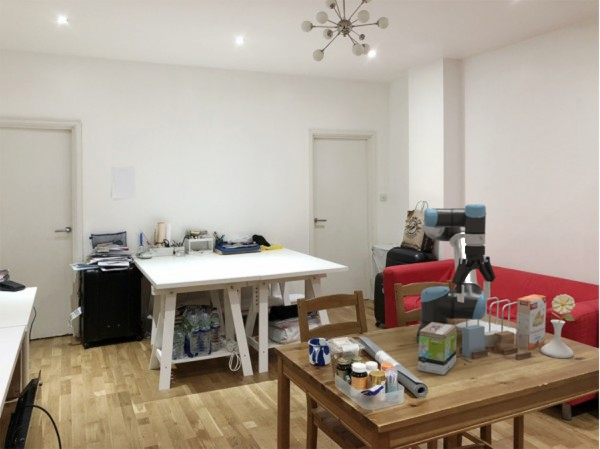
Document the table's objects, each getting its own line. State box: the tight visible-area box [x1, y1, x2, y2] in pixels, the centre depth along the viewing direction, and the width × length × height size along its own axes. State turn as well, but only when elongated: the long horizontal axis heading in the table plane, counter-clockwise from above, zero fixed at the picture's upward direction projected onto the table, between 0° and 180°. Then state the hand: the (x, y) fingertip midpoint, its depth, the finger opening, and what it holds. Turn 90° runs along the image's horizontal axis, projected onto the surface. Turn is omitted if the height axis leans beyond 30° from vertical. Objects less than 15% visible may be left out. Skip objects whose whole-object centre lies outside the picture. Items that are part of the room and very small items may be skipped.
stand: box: [456, 346, 491, 363], centre depth 194 cm, size 8×10×4 cm
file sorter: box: [454, 296, 517, 338], centre depth 228 cm, size 25×17×16 cm
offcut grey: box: [484, 330, 501, 349], centre depth 203 cm, size 4×9×6 cm, turn 117°
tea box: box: [417, 322, 458, 376], centre depth 184 cm, size 15×10×15 cm, turn 148°
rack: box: [486, 345, 537, 363], centre depth 198 cm, size 20×12×3 cm, turn 27°
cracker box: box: [515, 293, 547, 351], centre depth 205 cm, size 14×6×21 cm, turn 130°
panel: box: [461, 325, 485, 358], centre depth 194 cm, size 4×8×11 cm, turn 117°
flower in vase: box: [540, 293, 576, 359], centre depth 193 cm, size 13×11×25 cm
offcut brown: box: [494, 331, 515, 354], centre depth 197 cm, size 4×7×8 cm, turn 117°
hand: (473, 299), depth 193 cm, fingers open, 13 cm apart
